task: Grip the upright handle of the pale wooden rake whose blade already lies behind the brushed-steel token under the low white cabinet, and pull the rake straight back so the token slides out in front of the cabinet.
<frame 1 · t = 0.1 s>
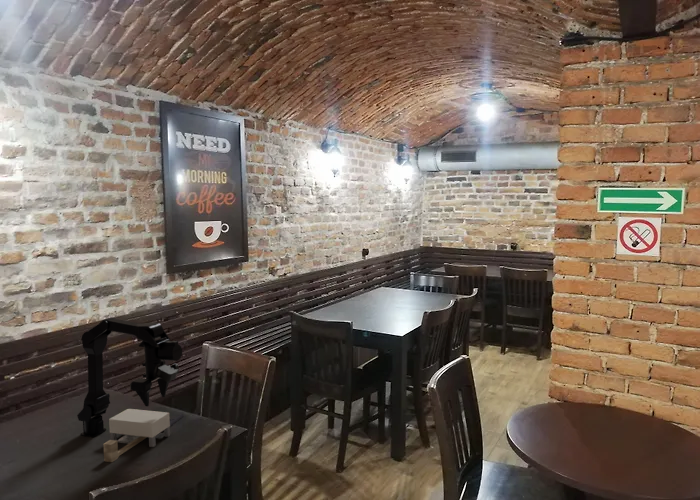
hand: (155, 401, 182), 15 cm above the table, tool pointing down, fingers open, 9 cm apart
token: (129, 440, 184), on the table
bracket: (157, 424, 199), on the table
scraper: (111, 459, 169), on the table
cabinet: (140, 438, 185), on the table
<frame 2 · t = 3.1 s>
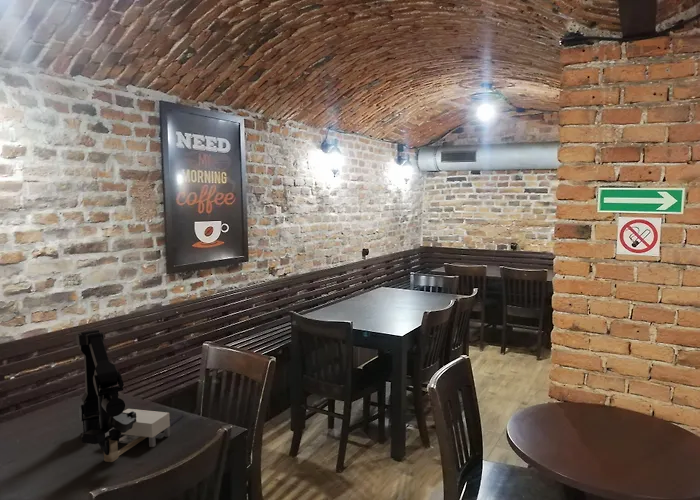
hand: (110, 452, 169), 3 cm above the table, tool pointing down, fingers closed on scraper, 3 cm apart
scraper: (111, 459, 169), on the table, touching gripper
everything else where it was.
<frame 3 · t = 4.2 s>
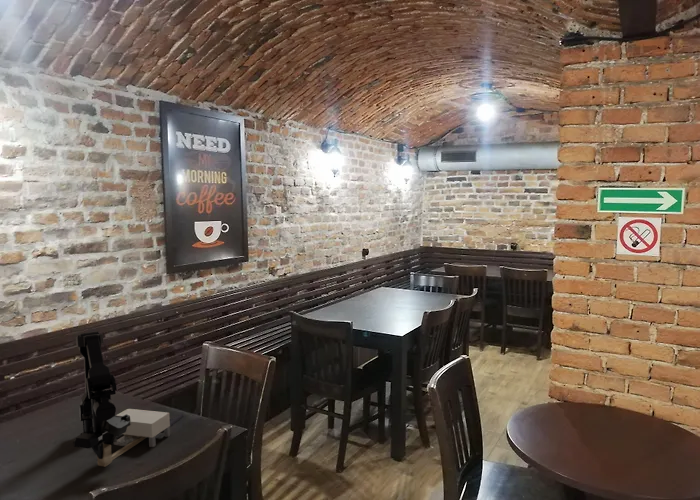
hand: (104, 456, 166), 3 cm above the table, tool pointing down, fingers closed on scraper, 3 cm apart
token: (126, 442, 183), on the table, touching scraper
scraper: (104, 463, 166), on the table, touching gripper, token
everything else where it was.
when the fingers open (3 cm above the table, at t = 6.6 s): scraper stays where it is, on the table.
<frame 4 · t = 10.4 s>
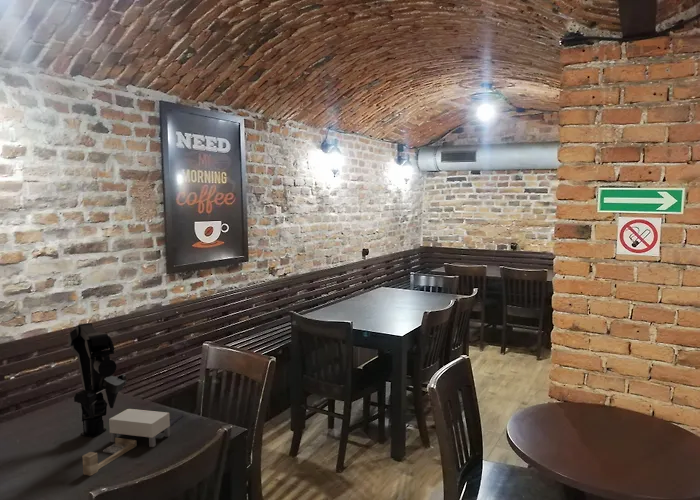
hand: (102, 412, 179), 12 cm above the table, tool pointing down, fingers open, 9 cm apart
token: (116, 450, 177), on the table
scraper: (91, 472, 161), on the table
everything else where it was.
at the end: token inside the target area (1.4 cm from its centre), on the table; the gripper is holding nothing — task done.
